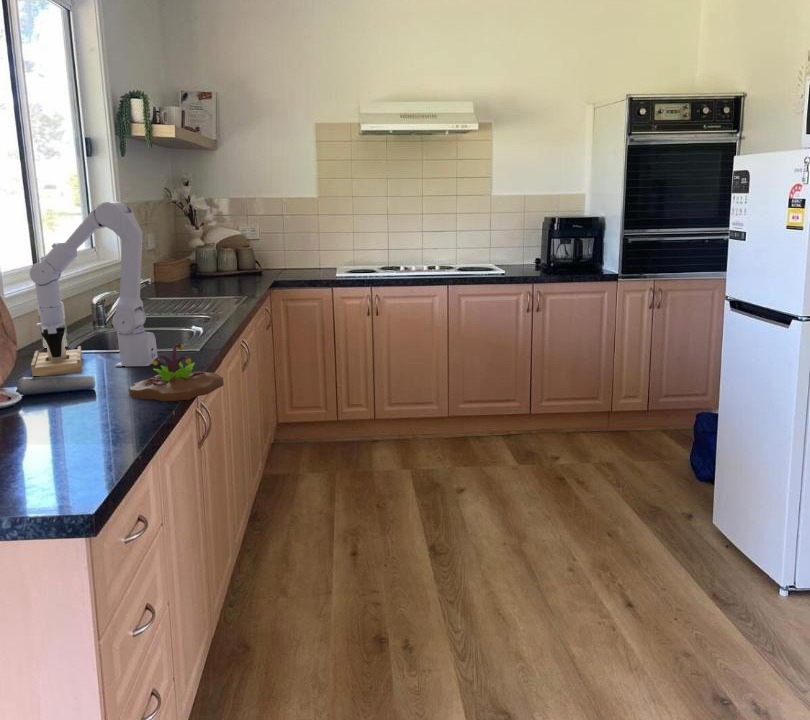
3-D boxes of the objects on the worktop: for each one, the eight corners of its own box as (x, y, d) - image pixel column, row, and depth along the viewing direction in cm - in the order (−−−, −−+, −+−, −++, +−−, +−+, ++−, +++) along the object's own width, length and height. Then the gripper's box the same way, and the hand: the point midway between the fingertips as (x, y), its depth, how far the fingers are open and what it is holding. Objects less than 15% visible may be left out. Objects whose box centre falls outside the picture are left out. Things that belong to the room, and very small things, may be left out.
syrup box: (60, 345, 244) (54, 299, 240) (69, 347, 240) (63, 301, 237) (42, 348, 239) (35, 302, 236) (52, 350, 236) (45, 303, 232)
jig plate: (81, 371, 206) (80, 359, 205) (32, 377, 202) (30, 365, 201) (82, 357, 224) (80, 346, 224) (37, 362, 220) (35, 351, 219)
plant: (238, 383, 189) (234, 338, 186) (184, 405, 172) (179, 356, 169) (174, 377, 197) (169, 334, 195) (117, 397, 180) (111, 351, 177)
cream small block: (70, 360, 215) (67, 339, 213) (60, 363, 210) (57, 342, 209) (55, 360, 215) (52, 339, 214) (45, 364, 211) (42, 342, 210)
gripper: (35, 304, 214) (42, 351, 217) (32, 311, 201) (39, 362, 204) (63, 302, 217) (69, 349, 220) (61, 309, 204) (68, 358, 207)
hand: (57, 355), depth 212 cm, fingers closed on cream small block, 5 cm apart
